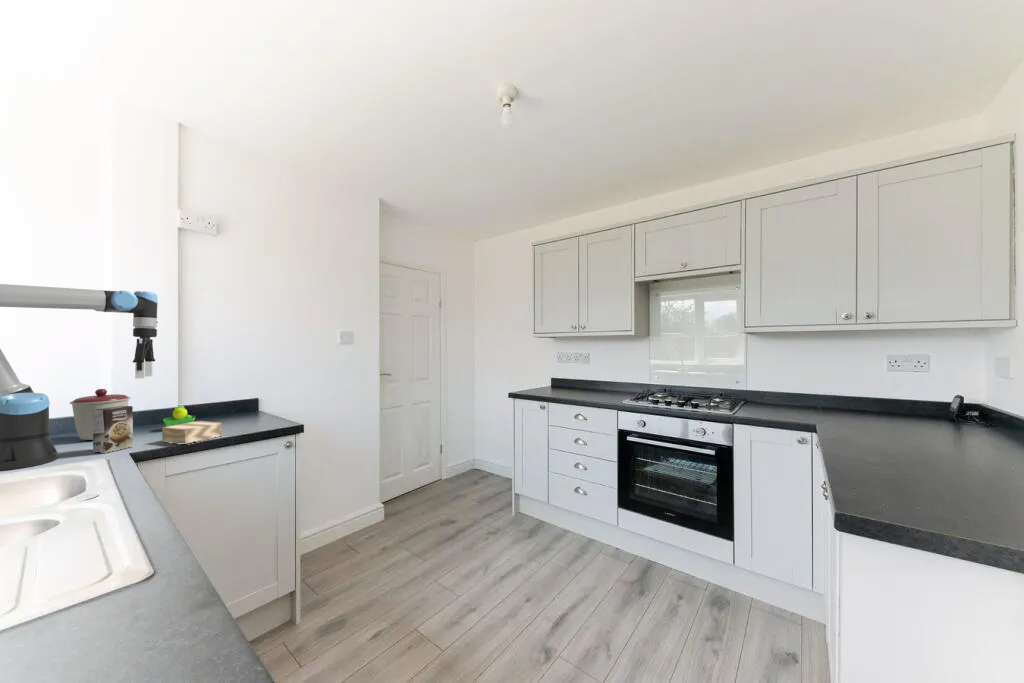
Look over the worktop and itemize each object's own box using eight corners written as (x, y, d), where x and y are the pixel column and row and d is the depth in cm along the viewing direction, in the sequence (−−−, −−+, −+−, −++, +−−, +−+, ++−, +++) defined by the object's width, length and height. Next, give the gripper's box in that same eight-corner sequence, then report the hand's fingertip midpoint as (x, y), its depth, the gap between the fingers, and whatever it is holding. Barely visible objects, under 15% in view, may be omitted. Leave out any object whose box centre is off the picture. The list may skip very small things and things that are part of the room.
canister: (142, 433, 177) (141, 386, 177) (96, 443, 159) (95, 391, 159) (106, 432, 179) (105, 386, 179) (57, 443, 161) (56, 391, 161)
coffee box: (105, 453, 145) (105, 409, 144) (92, 453, 146) (91, 409, 146) (134, 447, 154) (133, 405, 153) (121, 446, 155) (120, 405, 155)
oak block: (185, 445, 155) (184, 429, 155) (162, 442, 160) (162, 427, 160) (221, 436, 169) (221, 422, 169) (199, 434, 173) (199, 420, 173)
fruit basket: (195, 425, 193) (194, 402, 193) (195, 428, 186) (195, 404, 186) (163, 429, 185) (163, 405, 185) (163, 432, 178) (162, 407, 178)
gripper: (149, 326, 161) (148, 378, 161) (163, 329, 182) (162, 375, 182) (124, 326, 157) (123, 379, 157) (141, 328, 178) (140, 375, 178)
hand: (144, 377), depth 169 cm, fingers open, 13 cm apart
